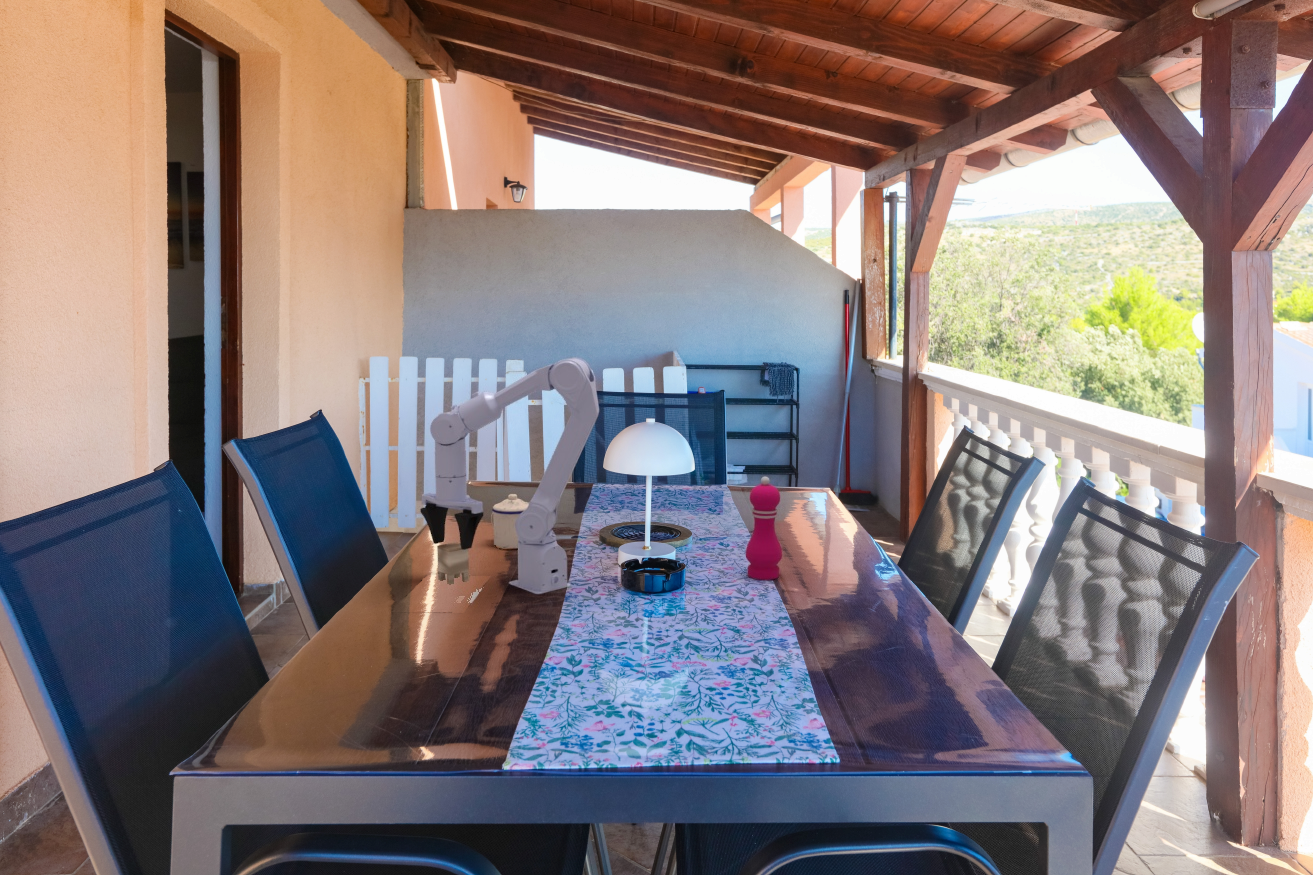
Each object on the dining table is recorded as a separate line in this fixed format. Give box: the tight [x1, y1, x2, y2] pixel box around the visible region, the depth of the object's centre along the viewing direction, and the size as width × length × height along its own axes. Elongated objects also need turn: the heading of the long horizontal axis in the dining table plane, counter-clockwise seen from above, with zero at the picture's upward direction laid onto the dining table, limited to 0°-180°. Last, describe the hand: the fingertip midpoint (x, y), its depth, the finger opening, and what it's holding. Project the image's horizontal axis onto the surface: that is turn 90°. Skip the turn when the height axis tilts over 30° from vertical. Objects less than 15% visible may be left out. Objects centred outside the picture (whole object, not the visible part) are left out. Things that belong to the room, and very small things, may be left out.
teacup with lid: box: [490, 493, 530, 548], centre depth 199 cm, size 12×9×12 cm
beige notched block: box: [436, 541, 470, 585], centre depth 170 cm, size 4×4×7 cm
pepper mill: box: [745, 476, 783, 581], centre depth 175 cm, size 7×7×20 cm
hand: (452, 545), depth 169 cm, fingers open, 7 cm apart
